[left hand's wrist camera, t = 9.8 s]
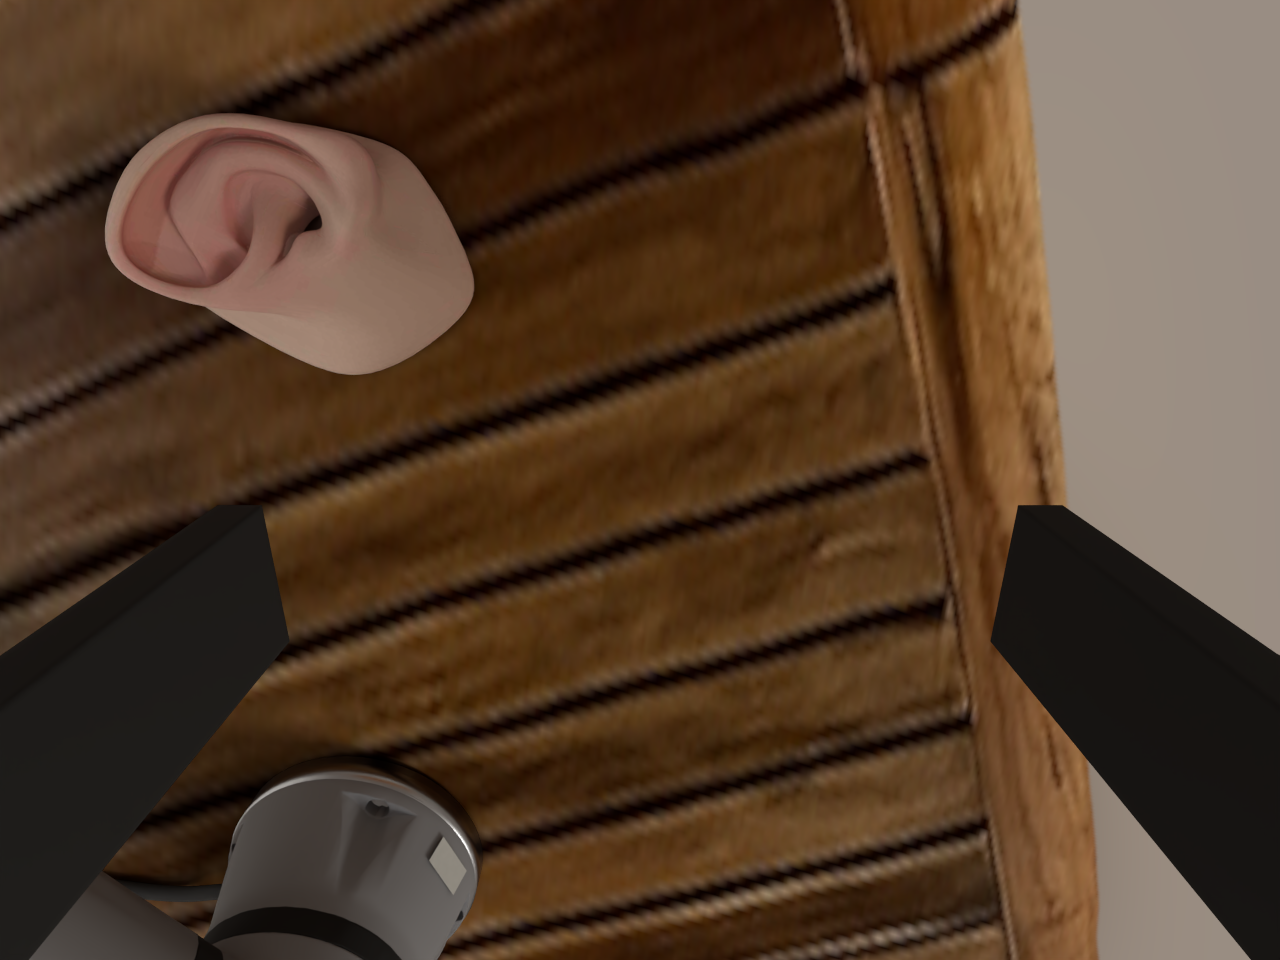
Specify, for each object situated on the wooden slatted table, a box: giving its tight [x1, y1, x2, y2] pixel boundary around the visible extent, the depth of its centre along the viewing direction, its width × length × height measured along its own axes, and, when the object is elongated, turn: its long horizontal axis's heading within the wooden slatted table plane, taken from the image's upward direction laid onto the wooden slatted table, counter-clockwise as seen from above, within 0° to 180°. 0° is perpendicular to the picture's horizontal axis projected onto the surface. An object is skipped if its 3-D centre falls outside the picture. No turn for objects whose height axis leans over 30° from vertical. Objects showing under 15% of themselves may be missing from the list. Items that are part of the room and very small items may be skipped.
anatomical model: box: [105, 113, 474, 375], centre depth 30 cm, size 13×4×12 cm
